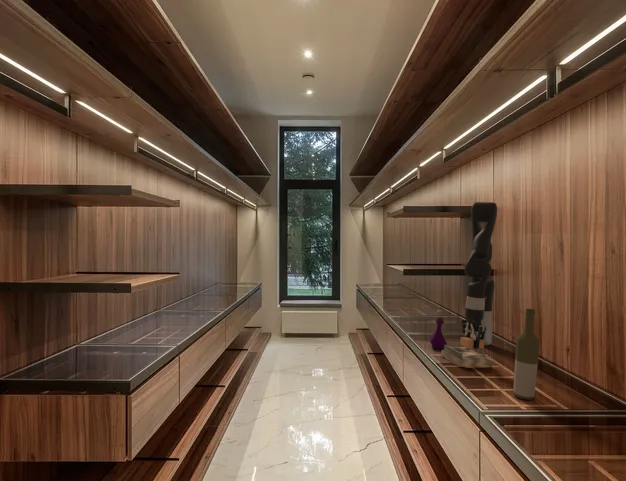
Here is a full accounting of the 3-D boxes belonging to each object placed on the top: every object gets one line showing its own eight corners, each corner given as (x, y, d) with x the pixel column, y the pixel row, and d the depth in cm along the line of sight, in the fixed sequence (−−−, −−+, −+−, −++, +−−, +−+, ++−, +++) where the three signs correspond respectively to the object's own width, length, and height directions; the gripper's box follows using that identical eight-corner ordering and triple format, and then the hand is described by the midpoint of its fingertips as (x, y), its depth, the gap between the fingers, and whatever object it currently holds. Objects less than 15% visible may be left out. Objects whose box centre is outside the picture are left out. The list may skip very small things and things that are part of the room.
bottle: (526, 393, 139) (533, 307, 138) (540, 401, 132) (547, 312, 131) (507, 392, 138) (514, 307, 138) (520, 401, 131) (527, 311, 131)
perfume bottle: (446, 351, 185) (449, 312, 185) (429, 349, 187) (432, 311, 187) (444, 346, 193) (447, 309, 192) (428, 344, 194) (431, 308, 194)
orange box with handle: (476, 346, 175) (477, 335, 174) (483, 349, 170) (484, 338, 170) (460, 346, 173) (460, 335, 173) (467, 349, 168) (468, 338, 168)
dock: (470, 356, 179) (471, 344, 179) (491, 367, 166) (492, 354, 166) (441, 356, 176) (441, 344, 176) (459, 367, 162) (460, 354, 162)
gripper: (493, 311, 165) (490, 351, 165) (472, 304, 179) (469, 342, 179) (477, 310, 163) (474, 351, 163) (457, 304, 177) (454, 342, 177)
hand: (471, 346), depth 171 cm, fingers closed on orange box with handle, 5 cm apart
